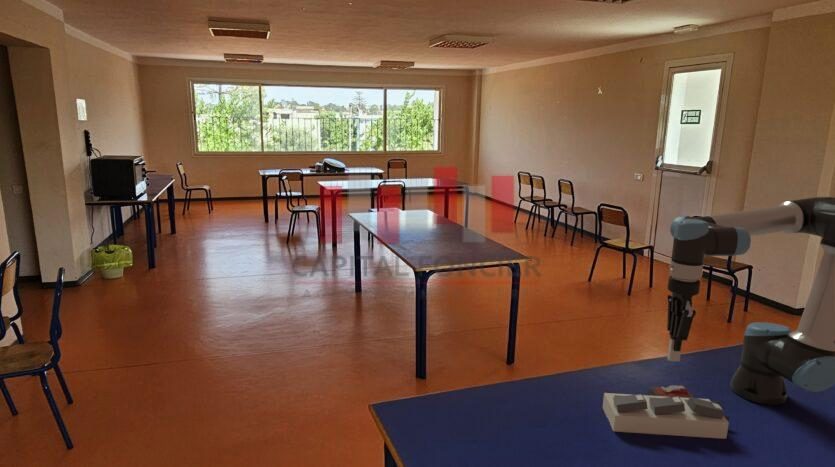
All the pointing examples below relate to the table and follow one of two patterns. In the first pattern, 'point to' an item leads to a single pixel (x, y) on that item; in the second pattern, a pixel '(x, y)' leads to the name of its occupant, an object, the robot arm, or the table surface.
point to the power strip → (664, 420)
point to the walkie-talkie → (672, 392)
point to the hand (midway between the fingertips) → (673, 359)
